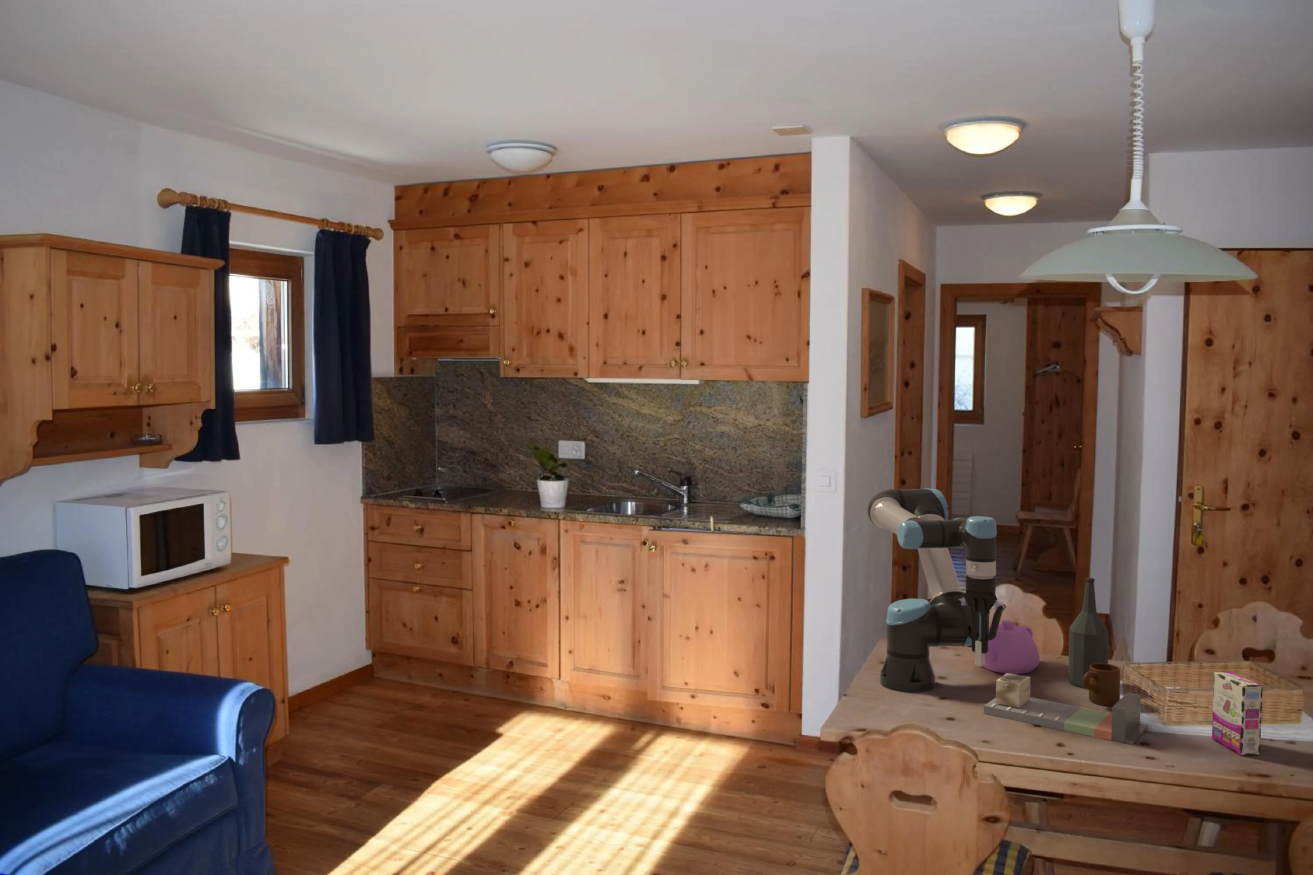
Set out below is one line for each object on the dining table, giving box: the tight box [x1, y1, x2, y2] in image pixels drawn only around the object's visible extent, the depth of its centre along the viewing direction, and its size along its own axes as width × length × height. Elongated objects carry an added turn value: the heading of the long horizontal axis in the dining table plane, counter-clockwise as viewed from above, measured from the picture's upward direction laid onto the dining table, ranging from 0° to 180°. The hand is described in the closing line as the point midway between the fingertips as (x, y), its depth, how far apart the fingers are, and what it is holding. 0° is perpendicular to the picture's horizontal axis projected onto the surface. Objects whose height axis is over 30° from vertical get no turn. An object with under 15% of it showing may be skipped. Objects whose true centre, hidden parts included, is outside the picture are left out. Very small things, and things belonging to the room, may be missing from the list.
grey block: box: [1110, 692, 1149, 746], centre depth 248 cm, size 5×14×8 cm, turn 141°
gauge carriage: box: [995, 673, 1031, 708], centre depth 264 cm, size 6×10×6 cm, turn 141°
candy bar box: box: [1211, 671, 1264, 756], centre depth 238 cm, size 11×5×16 cm, turn 5°
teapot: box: [981, 619, 1041, 675], centre depth 302 cm, size 25×18×14 cm
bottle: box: [1068, 577, 1110, 690], centre depth 285 cm, size 10×10×30 cm
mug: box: [1083, 663, 1121, 707], centre depth 270 cm, size 12×8×9 cm, turn 120°
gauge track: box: [983, 696, 1112, 741], centre depth 259 cm, size 31×14×2 cm, turn 51°
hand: (979, 664), depth 270 cm, fingers closed
